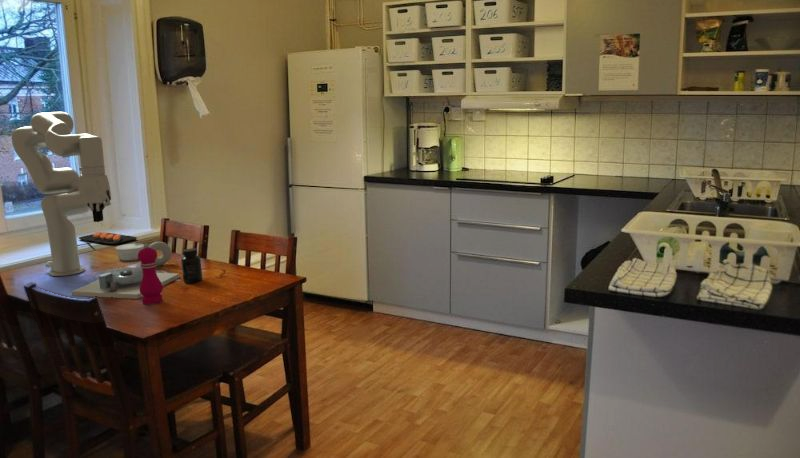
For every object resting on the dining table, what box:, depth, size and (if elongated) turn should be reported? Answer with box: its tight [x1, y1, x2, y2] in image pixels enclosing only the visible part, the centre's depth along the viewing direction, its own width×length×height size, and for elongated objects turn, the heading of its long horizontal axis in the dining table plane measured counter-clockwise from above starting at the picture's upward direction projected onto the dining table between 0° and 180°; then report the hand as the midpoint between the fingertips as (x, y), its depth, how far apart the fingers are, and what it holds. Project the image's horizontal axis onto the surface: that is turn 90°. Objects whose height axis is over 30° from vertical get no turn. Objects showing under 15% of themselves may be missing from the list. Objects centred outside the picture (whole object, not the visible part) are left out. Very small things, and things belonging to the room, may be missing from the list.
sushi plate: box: [77, 231, 137, 251], centre depth 311 cm, size 29×30×4 cm
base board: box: [71, 272, 180, 300], centre depth 239 cm, size 26×26×3 cm
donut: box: [149, 241, 172, 267], centre depth 266 cm, size 10×4×10 cm, turn 126°
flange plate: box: [98, 267, 143, 289], centre depth 236 cm, size 22×18×4 cm
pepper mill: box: [137, 243, 164, 305], centre depth 218 cm, size 7×7×20 cm
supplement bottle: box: [180, 248, 203, 285], centre depth 242 cm, size 7×7×12 cm
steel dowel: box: [109, 281, 117, 292], centre depth 228 cm, size 2×2×4 cm
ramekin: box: [115, 243, 144, 262], centre depth 280 cm, size 11×11×5 cm
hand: (98, 221), depth 239 cm, fingers closed
